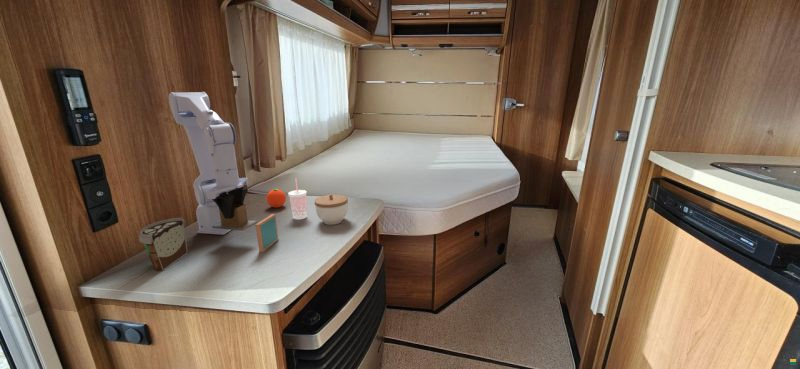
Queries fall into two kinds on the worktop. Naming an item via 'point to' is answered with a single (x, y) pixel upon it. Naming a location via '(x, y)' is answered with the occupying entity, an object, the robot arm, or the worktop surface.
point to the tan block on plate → (235, 219)
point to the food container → (164, 242)
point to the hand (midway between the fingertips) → (233, 215)
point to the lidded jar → (331, 208)
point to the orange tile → (266, 232)
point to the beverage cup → (298, 203)
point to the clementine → (276, 198)
